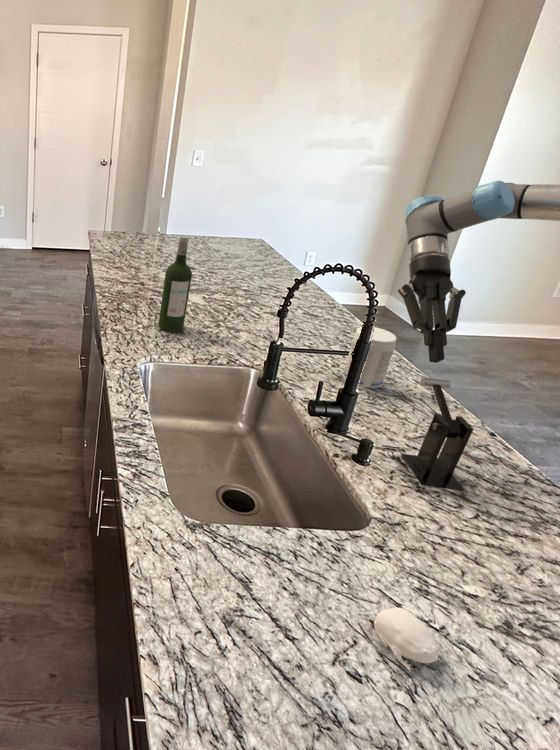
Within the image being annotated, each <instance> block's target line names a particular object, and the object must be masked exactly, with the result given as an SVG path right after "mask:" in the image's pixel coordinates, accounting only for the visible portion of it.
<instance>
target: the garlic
mask: <svg viewBox="0 0 560 750" xmlns="http://www.w3.org/2000/svg"><path fill="white" fill-rule="evenodd" d="M373 626H374V629H375V633H376V634H377V636H378V637H379V639H380V640H381V641H382V642H383V644H384V646H385V647H386V648H389V649H390V650H391V651H392V653H393V656H394V657H395V659H396V660H397V661H398V662H399V663H400V664H401V665H402V666H403V667H405V668H406V669H407V671H409V673H412V671H414V668H412V666H413V665H412V664H409V663H408V660H411V661H414V662H417V663H422V664H432V663H434V662H436V663H438V661H439V662H440V663H442V660H441V659H440V658H439V651H440V647H439V644H438V643H437V642H436V639H435V636H434V635H433V633H432V632H431V631H430V629H429V628H428V627H426V626H425V624H424V623H423V621H421V620H420V619H419V618H418V617H416V616H415V615H414V614H413V613H412V612H410V611H409V610H406V609H405V608H402V607H391V608H386V609H384V610H383V611H380V612H379V613H378V614H376V617H375V620H374V622H373ZM402 657H403V658H405V659H406V660H404V659H403V658H402ZM407 659H408V660H407ZM411 670H412V671H411Z"/></svg>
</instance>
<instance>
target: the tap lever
mask: <svg viewBox="0 0 560 750" xmlns="http://www.w3.org/2000/svg"><path fill="white" fill-rule="evenodd" d="M420 385H421V386H422V387H429V388H432V390H433V393H434V396H435V398H436V402H437V404H438V408H439V411H440V414H441V415H442V417H443V418H444V419H445V420H446V421H447V423H448V424H449V425H450V426H451V427H450V429H449V432H448V434H447V436H446V438H447V437H449V438H456V437H457V436H459V435H460V434H461V433H462V431H461V428H460V425H459V423H458V420H455V419H453V418H452V415H451V412H450V409H449V406H448V403H447V401H446V397H445V394H444V392H443V389H448V390H449V389H450V388H451V386H452V382H451V380H449V379H441V378H432V377H421V378H420Z"/></svg>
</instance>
